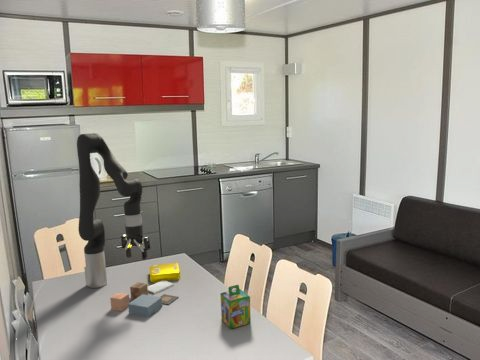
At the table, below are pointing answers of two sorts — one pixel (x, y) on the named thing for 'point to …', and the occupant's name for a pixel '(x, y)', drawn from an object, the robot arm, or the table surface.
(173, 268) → the element tile
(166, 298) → the tile
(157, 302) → the slate base block
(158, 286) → the hard drive
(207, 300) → the table surface
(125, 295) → the terracotta cube
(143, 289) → the walnut cube
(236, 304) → the chalk box
